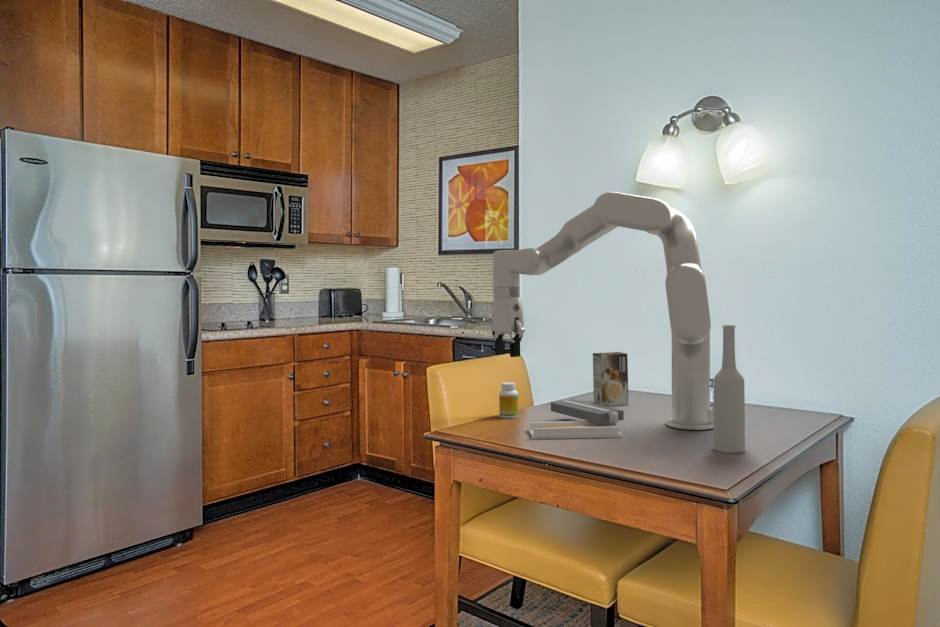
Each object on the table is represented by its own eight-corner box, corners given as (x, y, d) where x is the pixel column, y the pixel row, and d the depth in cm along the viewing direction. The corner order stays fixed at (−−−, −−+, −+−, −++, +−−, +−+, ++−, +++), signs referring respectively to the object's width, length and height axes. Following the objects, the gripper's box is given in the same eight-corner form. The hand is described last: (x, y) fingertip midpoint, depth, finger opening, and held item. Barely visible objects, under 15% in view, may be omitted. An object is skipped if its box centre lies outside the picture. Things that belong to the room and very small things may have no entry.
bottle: (732, 444, 151) (732, 324, 149) (751, 451, 144) (751, 325, 143) (707, 447, 149) (707, 325, 148) (725, 454, 143) (725, 326, 141)
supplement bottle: (517, 418, 184) (516, 384, 184) (498, 418, 185) (497, 384, 185) (519, 415, 189) (519, 381, 189) (501, 414, 190) (500, 381, 190)
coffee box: (619, 401, 208) (619, 351, 207) (629, 405, 201) (628, 353, 201) (592, 403, 205) (592, 352, 205) (601, 407, 199) (601, 354, 199)
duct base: (613, 429, 169) (613, 419, 169) (621, 437, 160) (621, 427, 160) (528, 430, 169) (528, 421, 169) (531, 439, 160) (531, 429, 160)
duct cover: (628, 421, 165) (628, 410, 165) (604, 424, 161) (604, 414, 161) (573, 407, 184) (573, 398, 184) (550, 411, 180) (550, 401, 180)
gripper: (535, 293, 180) (536, 357, 181) (500, 293, 195) (501, 352, 196) (512, 293, 176) (513, 359, 177) (479, 293, 191) (480, 354, 192)
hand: (507, 355), depth 186 cm, fingers open, 7 cm apart
